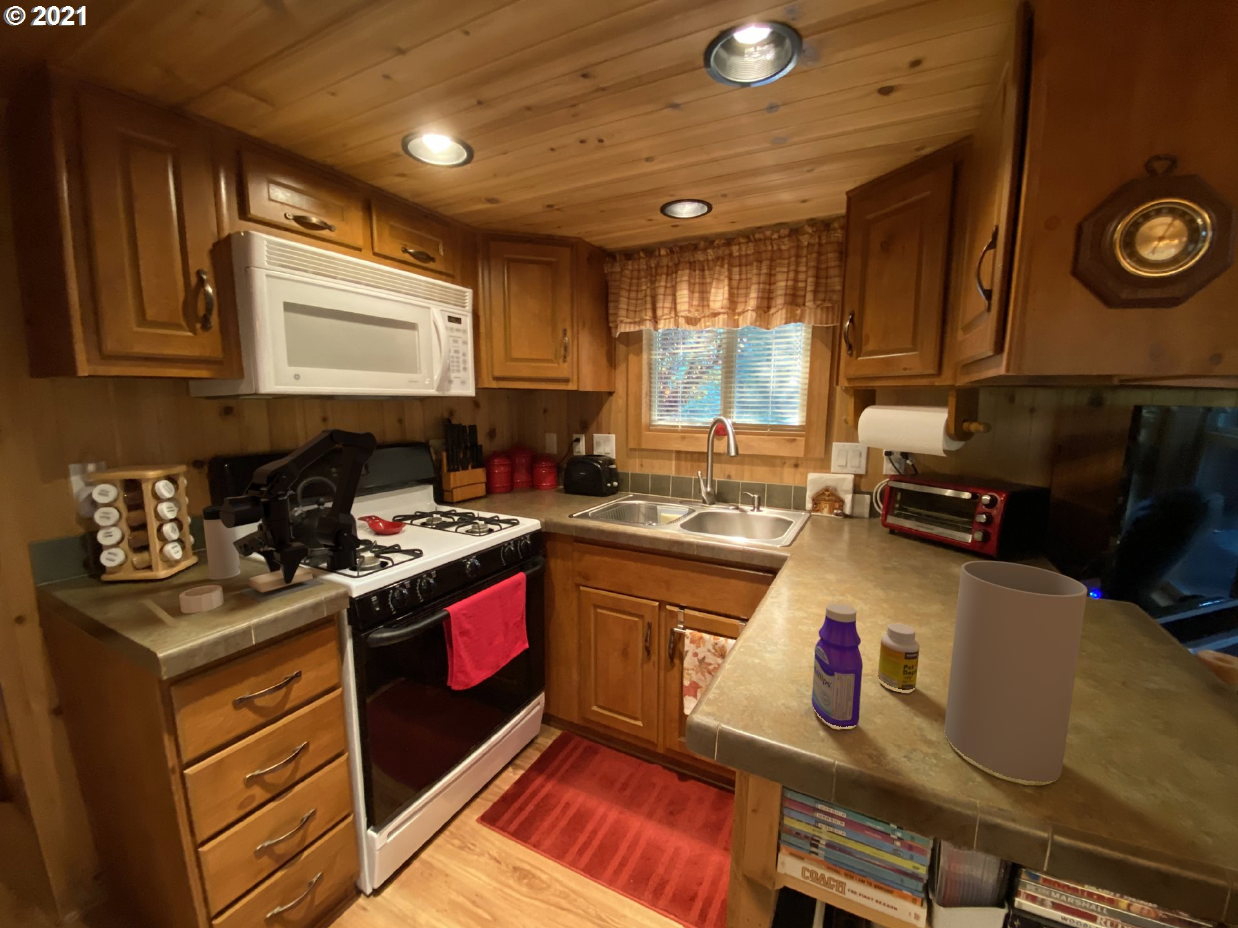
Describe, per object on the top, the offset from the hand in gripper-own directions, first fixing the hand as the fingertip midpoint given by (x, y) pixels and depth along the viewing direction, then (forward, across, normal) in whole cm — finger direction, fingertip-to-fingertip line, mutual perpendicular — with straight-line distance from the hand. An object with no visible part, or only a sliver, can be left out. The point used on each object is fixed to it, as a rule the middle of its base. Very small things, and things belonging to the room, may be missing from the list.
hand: (281, 580), depth 119 cm
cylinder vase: (+3, +142, +31) cm, 145 cm away
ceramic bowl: (+3, -2, -15) cm, 15 cm away
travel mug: (+3, -21, -5) cm, 22 cm away
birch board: (0, 0, 0) cm, 0 cm away
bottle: (+3, +122, +26) cm, 125 cm away
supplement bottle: (+3, +129, +41) cm, 135 cm away
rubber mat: (+3, 0, 0) cm, 3 cm away
